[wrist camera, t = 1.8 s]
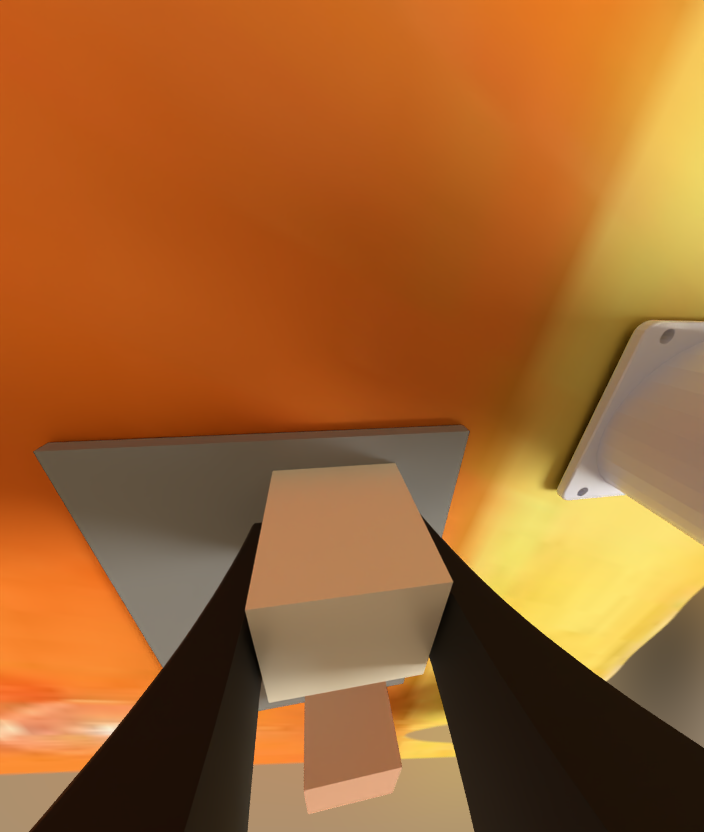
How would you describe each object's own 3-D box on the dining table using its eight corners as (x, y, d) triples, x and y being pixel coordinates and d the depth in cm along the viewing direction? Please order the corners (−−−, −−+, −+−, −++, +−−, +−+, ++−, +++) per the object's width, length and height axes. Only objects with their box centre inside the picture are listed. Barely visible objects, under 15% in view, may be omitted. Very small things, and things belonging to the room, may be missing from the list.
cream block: (395, 463, 10) (453, 582, 6) (384, 544, 12) (423, 674, 8) (272, 470, 9) (244, 610, 5) (283, 554, 11) (268, 702, 7)
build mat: (462, 424, 10) (471, 432, 10) (401, 674, 19) (403, 685, 19) (47, 442, 8) (29, 453, 8) (198, 711, 17) (195, 725, 17)
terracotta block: (379, 648, 16) (402, 767, 12) (374, 681, 18) (392, 793, 14) (305, 660, 15) (303, 790, 11) (308, 693, 17) (308, 814, 13)
